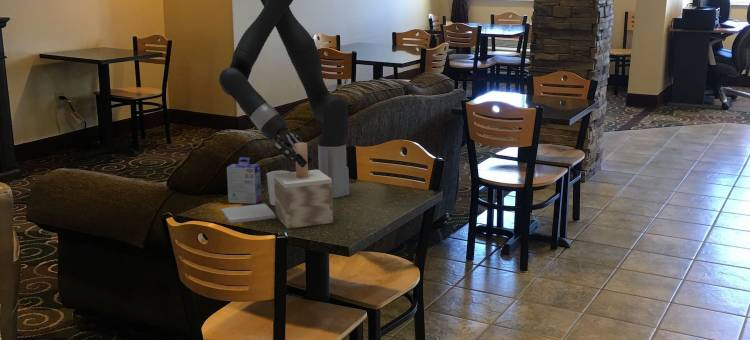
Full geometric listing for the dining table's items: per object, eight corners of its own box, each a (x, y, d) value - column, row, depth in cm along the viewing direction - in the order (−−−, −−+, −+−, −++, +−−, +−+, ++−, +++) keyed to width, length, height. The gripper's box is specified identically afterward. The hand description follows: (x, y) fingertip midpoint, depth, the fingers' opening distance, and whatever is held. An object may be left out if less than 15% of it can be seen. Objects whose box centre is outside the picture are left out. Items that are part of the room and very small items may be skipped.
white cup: (296, 201, 266) (295, 171, 263) (286, 207, 258) (284, 176, 256) (274, 199, 268) (273, 170, 266) (264, 205, 261) (262, 175, 259)
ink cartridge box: (262, 199, 268) (260, 157, 265) (256, 204, 263) (254, 160, 259) (234, 198, 270) (231, 156, 267) (228, 203, 265) (225, 159, 261)
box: (319, 210, 254) (318, 173, 251) (333, 222, 241) (332, 183, 238) (275, 216, 249) (274, 178, 246) (287, 228, 236) (285, 188, 233)
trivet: (265, 206, 260) (265, 203, 259) (275, 217, 247) (275, 214, 247) (221, 211, 255) (221, 208, 255) (229, 223, 242) (229, 220, 242)
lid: (318, 173, 251) (316, 137, 248) (331, 183, 238) (330, 145, 236) (273, 177, 246) (272, 141, 244) (285, 188, 233) (283, 150, 231)
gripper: (265, 117, 233) (306, 160, 232) (287, 109, 246) (325, 150, 245) (250, 134, 236) (290, 177, 235) (272, 126, 249) (309, 167, 248)
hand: (307, 163), depth 240 cm, fingers closed on lid, 3 cm apart
